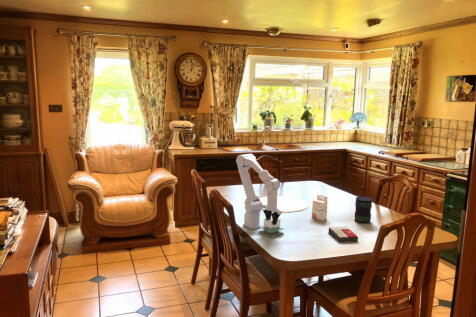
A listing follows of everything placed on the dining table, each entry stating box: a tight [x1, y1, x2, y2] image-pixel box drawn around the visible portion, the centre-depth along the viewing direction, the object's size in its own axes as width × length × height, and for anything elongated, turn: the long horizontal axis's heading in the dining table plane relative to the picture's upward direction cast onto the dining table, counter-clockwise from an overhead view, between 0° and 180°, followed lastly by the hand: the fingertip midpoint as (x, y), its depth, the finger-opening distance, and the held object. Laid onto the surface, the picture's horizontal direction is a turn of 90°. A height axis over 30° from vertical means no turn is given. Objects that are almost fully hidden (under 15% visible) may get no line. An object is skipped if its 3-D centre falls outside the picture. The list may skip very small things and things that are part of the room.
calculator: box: [328, 226, 359, 244], centre depth 217 cm, size 11×4×15 cm
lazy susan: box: [259, 195, 309, 213], centre depth 280 cm, size 40×39×3 cm
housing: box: [263, 216, 281, 230], centre depth 220 cm, size 5×10×5 cm, turn 124°
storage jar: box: [353, 196, 373, 225], centre depth 244 cm, size 10×10×15 cm
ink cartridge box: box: [311, 194, 328, 221], centre depth 249 cm, size 9×5×15 cm, turn 44°
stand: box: [258, 225, 285, 238], centre depth 221 cm, size 10×10×4 cm
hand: (271, 223), depth 220 cm, fingers closed on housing, 5 cm apart
